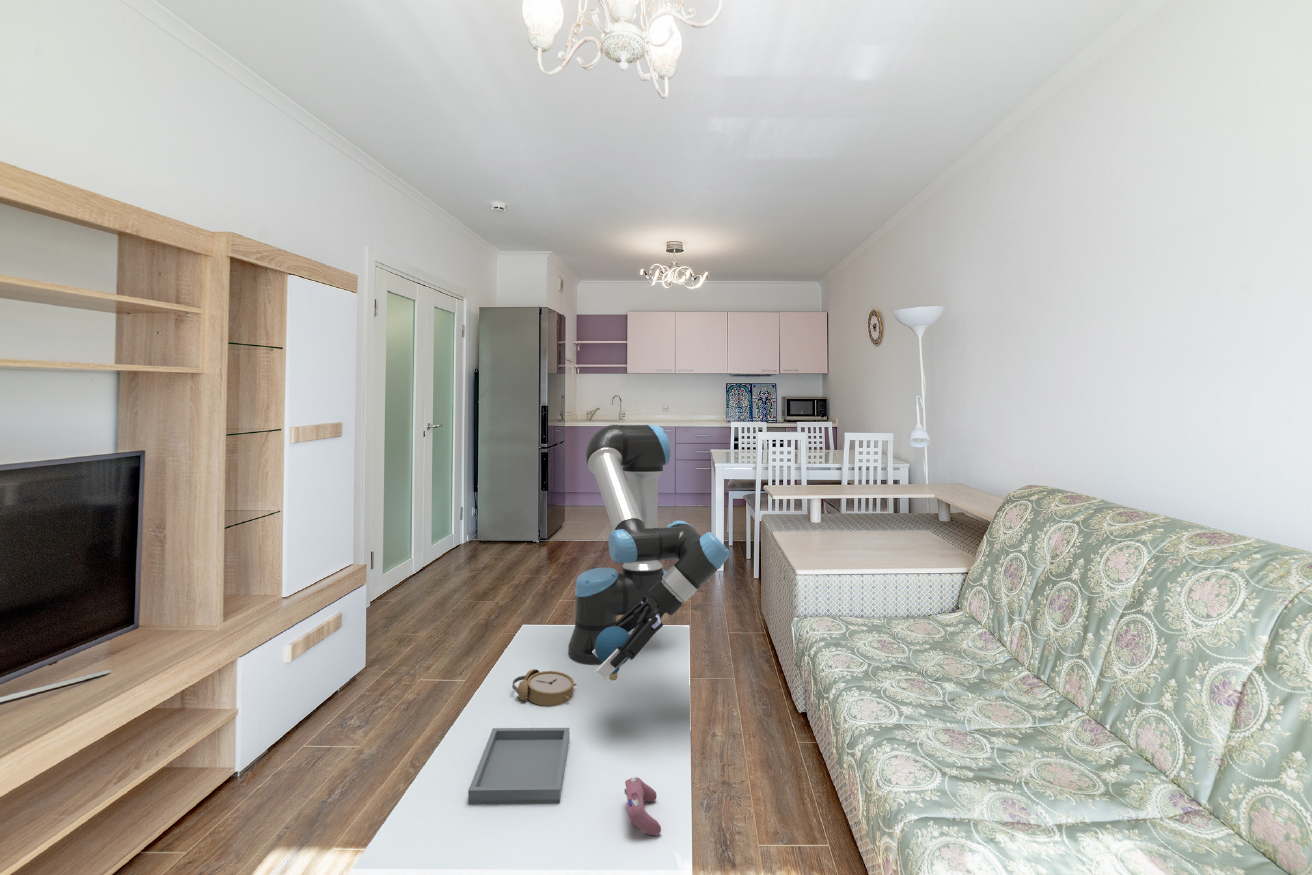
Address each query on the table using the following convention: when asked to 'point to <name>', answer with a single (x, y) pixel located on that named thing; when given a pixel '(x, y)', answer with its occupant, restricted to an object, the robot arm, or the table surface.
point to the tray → (521, 766)
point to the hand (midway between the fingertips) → (598, 665)
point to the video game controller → (640, 805)
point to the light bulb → (610, 645)
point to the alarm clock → (545, 687)
